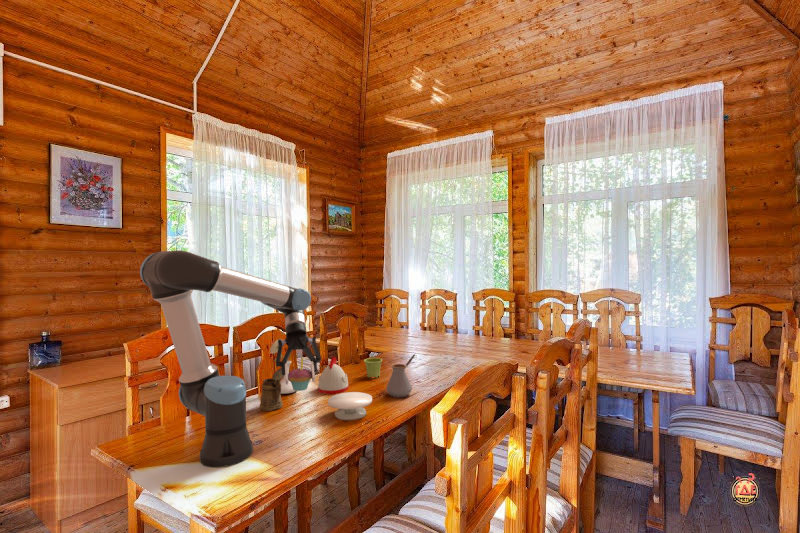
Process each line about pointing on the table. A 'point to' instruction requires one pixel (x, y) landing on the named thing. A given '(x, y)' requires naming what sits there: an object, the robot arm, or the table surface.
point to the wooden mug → (272, 392)
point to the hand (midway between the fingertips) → (300, 381)
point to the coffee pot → (399, 381)
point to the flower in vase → (284, 387)
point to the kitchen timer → (333, 379)
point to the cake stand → (350, 405)
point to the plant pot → (373, 366)
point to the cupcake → (300, 378)
